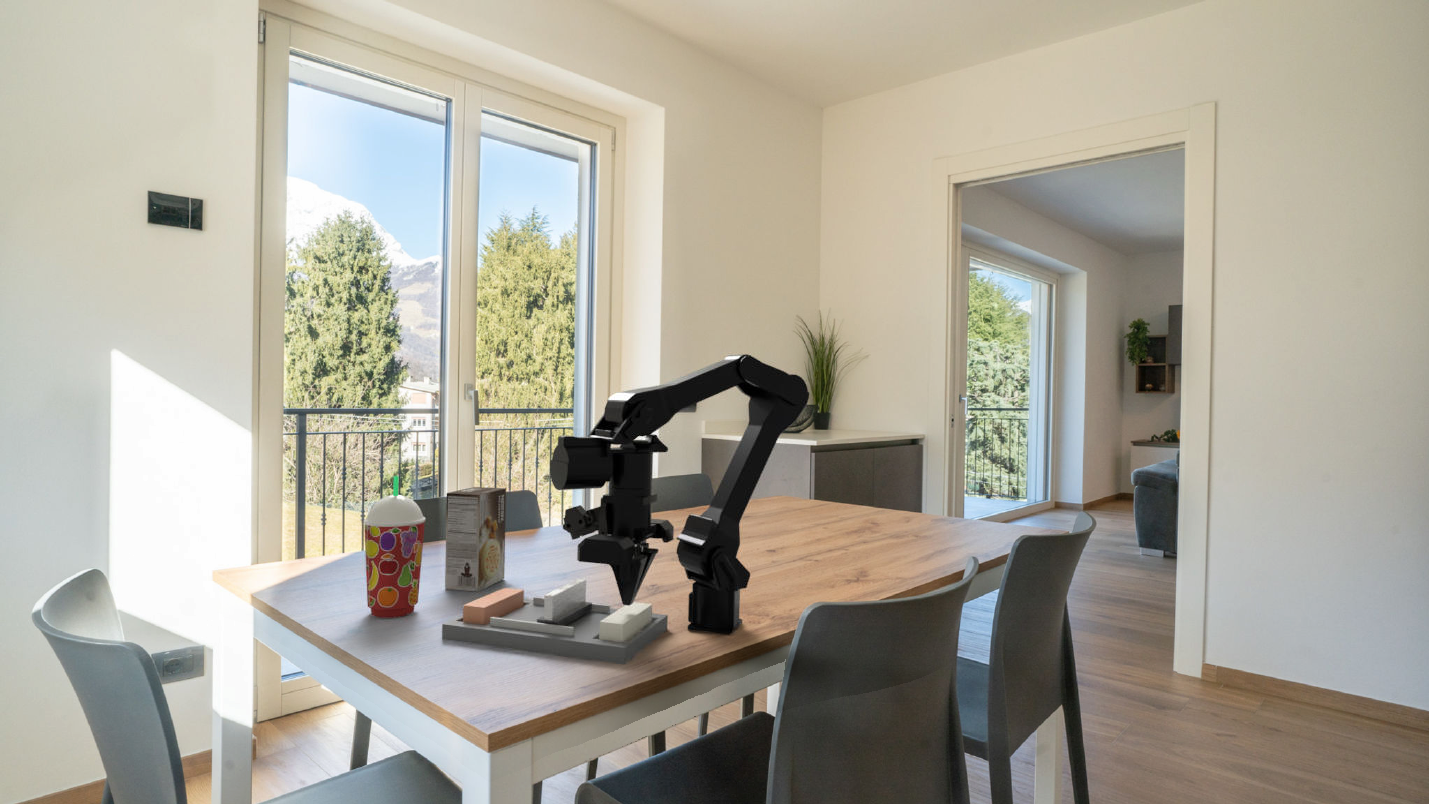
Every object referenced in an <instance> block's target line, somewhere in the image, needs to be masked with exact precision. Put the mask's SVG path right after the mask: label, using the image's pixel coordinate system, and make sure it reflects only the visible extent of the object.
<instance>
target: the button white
mask: <svg viewBox="0 0 1429 804" xmlns="http://www.w3.org/2000/svg"><path fill="white" fill-rule="evenodd" d="M652 613H653V604H652V603H643V602H636V601H634V602H633V604H631V605H629V606H628V605H623V606H622V607H620V608H619V610H617V611H616V612H614V613H612V614H611V615H609V616H608V617H606V618H605V619H603V620H601V621H600V627H599V639H601V640H608V641H616V642H624V643H626V642H627V641H628V640H630V639H631V638H632V637H634V636H635V635H636V634H638V633H639V632H640V631H642V629H644V628H645V627H646V626H648V625H649V624H650V623H652Z"/></svg>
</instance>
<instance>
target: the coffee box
mask: <svg viewBox="0 0 1429 804" xmlns="http://www.w3.org/2000/svg"><path fill="white" fill-rule="evenodd" d="M506 493H507V488H506V487H502V488H501V487H484V486H483V487H482V486H472V487H469V488H465V489H459V490H455V491H450V492H449V491H448V492H446V507H445V509H446V511H445V515H446V516H445V519H446V520H445V522H446V523H445V563H444V564H445V567H444V572H445V573H444V575H445V576H444V578H445V579H444V589H445V590H453V591H467V592H477V593H478V592H480V591H482V590H484V589H486V588H488V587H491V586H492V585H495V584H496V583H498V582H501V581H503V580H505V569H506V568H505V565H506V561H505V559H506V557H505V556H506V552H505V551H506V509H507V507H506V505H507V504H506V503H507V500H506V499H507V494H506Z"/></svg>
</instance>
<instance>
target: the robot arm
mask: <svg viewBox="0 0 1429 804" xmlns="http://www.w3.org/2000/svg"><path fill="white" fill-rule="evenodd" d="M734 387H736V389H738V391H740V393H742V394H743V395H745V396H747V397H748V398H749V401H748V425H747V426H746V429H745V431H744V433H743V435H742V436H741V439H740V441H739V443H738V445H737V447H736V450H735V451H734V454H733V455H732V458H731V460H730V462H729V464H728V466H727V468H726V471H725V473H724V474H723V477H722V479H721V480H720V483H719V485H718V487H717V489H716V492H715V494H714V496H713V498H712V500H711V502H710V504H709V507H707V509H706V510H704V512H702V513H701V514H699V515H696V514H694V513H690V514H689V515H688V517H686V521H685V524H684V527H683V528H682V531H681V533H680V534H678V535H677V537H676V540H678V541H679V542H678V544H677V547H676V556H677V558H678V562H679V563H680V565H681V566H682V567H683V568H684V571H685V575H686V578H687V579H688V580H690V581H691V580H692V581H694V582H693V583H692V589H691V591H690V593H689V594H688V606H687V612H688V613H687V621H688V622H689V624H688V625H687V627H686V628H687V629H686V630H689V631H696V632H704V633H713V634H721V635H732V634H734V633H735V631H736V630H738V628H739V627H740V626H741V625H742V624H743V619H741V618H740V605H741V604H740V601H741V599H740V597H741V590H744V589H746V588H748V584H749V581H750V577H751V572H750V571H749V569H747V567H745V566H744V564H743V563H742V562H741V561H740V560H739V559H738V557H737V556H738V553H739V550H740V545H741V538H740V537H741V534H740V531H741V530H740V523H741V520H742V518H743V515H744V514H745V511H746V509H747V508H748V505H749V503H750V500H751V498H752V497H753V494H754V491H755V489H756V487H757V485H758V482H759V481H760V478H761V476H762V474H763V472H764V470H765V468H766V465H767V463H768V461H769V459H770V457H771V455H772V452H773V450H774V447H775V445H776V444H777V442H778V440H779V438H780V436H781V435H782V434H783V433H784V432H785V431H786V430H787V429H789V428H791V426H792V425H793V424H795V422H797V420H798V419H799V417H800V416H801V414H802V412H803V411H804V409H805V408H806V406H807V404H808V402H809V398H810V392H809V390H808V386H807V383H806V381H805V380H804V379H803V377H801V376H800V375H798V374H790V373H788V372H786V371H783V369H782V370H781V369H780V368H776V367H774V366H772V365H769V364H767V363H765V362H762V361H761V360H759V359H758V358H756V357H754V356H752V355H750V354H747V353H745V354H732V355H727V356H726V357H725V358H724V359H722V360H719V361H717V362H714V363H713V364H712V363H711V364H709V365H708V366H705V367H702V368H699V369H698V370H695V371H693V372H690V373H687V374H684V375H683V376H680V377H678V378H675V379H673V380H671V381H668V382H666V383H663V384H660V385H659V384H658V385H655V386H648V387H647V386H645V387H641V388H634V389H629V390H623V391H619V392H615V393H614V394H613V395H610V396H609V398H608V399H607V400H606V401H607V402H606V405H605V406H604V413H603V414H602V415H601V417H600V419H599V420H598V422H597V423H596V424H595V426H594V427H593V428H592V430H591V431H590V432H589V434H588V435H587V436H572V435H558V436H557V445H556V447H555V448H554V450H553V452H552V455H551V459H550V461H549V474H550V480H551V482H552V486H553V487H554V488H555V490H556V491H567V490H568V491H571V490H590V489H601V488H603V487H604V486H605V484H606V483H608V493H606V494H602V496H601V497H600V505H599V506H598V507H597V506H596V507H593V508H590V509H588V510H586V509H585V508H584V507H583V506H582V505H580V504H579V505H576V506H572V507H570V508H567V509H565V512H564V517H563V524H562V529H563V530H564V531H566V532H567V533H569V535H570V537H571V540H572V541H573V540H578V539H580V537H584V536H587V535H590V534H593V533H595V532H597V533H596V534H593V535H590V536H588V537H585V538H584V539H583V540H582V541H580V542H579V543H578V545H577V555H576V556H577V559H576V561H578V562H580V563H589V564H590V563H592V564H600V565H608V566H610V567H611V570H612V572H613V575H614V578H615V582H616V585H617V589H618V592H619V597H620V599H621V603H622V605H623V606H625V605H628V606H629V605H631V604H633V602H635V600H636V597H637V595H638V592H639V591H640V588H641V587H642V583H643V582H644V579H645V578H646V576H647V574H648V572H649V570H650V567H651V566H652V564H653V562H654V559H655V558H656V556H657V554H659V549H658V548H653V547H650V543H649V542H647V540H648V539H655V540H656V539H657V540H658V539H661V540H662V543H670V542H671V541H674V535H675V534H674V533H675V531H674V529H675V528H674V525H673V524H672V523H671V522H670V521H669V519H660V518H659V519H658V518H652V513H653V512H652V509H653V508H652V506H653V505H652V504H653V503H656V502H657V500H658V493H656V492H655V493H653V466H654V459H653V458H654V453H667V452H668V451H669V447H668V446H667V445H665V444H664V442H662V441H661V440H660V438H659V437H658V435H657V434H653V433H655V432H656V431H657V430H659V429H661V428H662V427H664V426H665V425H667V424H669V422H670V421H671V420H672V419H673V417H675V415H676V414H678V413H680V411H682V410H684V409H686V408H689V407H691V406H693V405H696V404H697V403H700V402H702V401H705V400H707V399H709V398H712V397H714V396H717V395H718V394H721V393H723V392H726V391H727V390H730V389H732V388H734ZM639 437H644V438H643V439H637V438H639ZM612 445H616V446H618V445H619V446H618V447H616V446H615V447H612Z"/></svg>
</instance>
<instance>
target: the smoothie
mask: <svg viewBox="0 0 1429 804" xmlns="http://www.w3.org/2000/svg"><path fill="white" fill-rule="evenodd" d="M392 487H393V489H392V492H393V493H392V494H390V495H387V496H384V497H382V498H381V499H379V500H377V501H376V502H375V503H374V504H373V505H372V506H371V508H370V509H369V511H368V514H367V516H366V517H365V518H364V519H363V524H364V547H365V549H364V550H365V553H364V554H365V574H366V575H365V576H366V595H367V597H366V599H367V600H366V601H367V603H366V604H367V607H368V608H370V612H371V615H372V616H373V617H376V618H380V619H394V618H396V619H397V618H401V617H406V616H408V615H411V614H412V613H413V612H414V610H415V606H416V605H417V604H418V603H419V595H420V594H419V591H420V581H421V572H422V571H421V570H422V569H421V568H422V560H423V550H424V549H423V547H424V540H425V539H424V537H425V526H426V525H425V522H426V517H425V516H424V515H423V511H422V510H421V507H420V506H419V505H418V503H416V501H414V500H413V499H412V498H410V497H408V496H405V495H402V494H399V475H396V476H395V475H394V476H393V486H392Z"/></svg>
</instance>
